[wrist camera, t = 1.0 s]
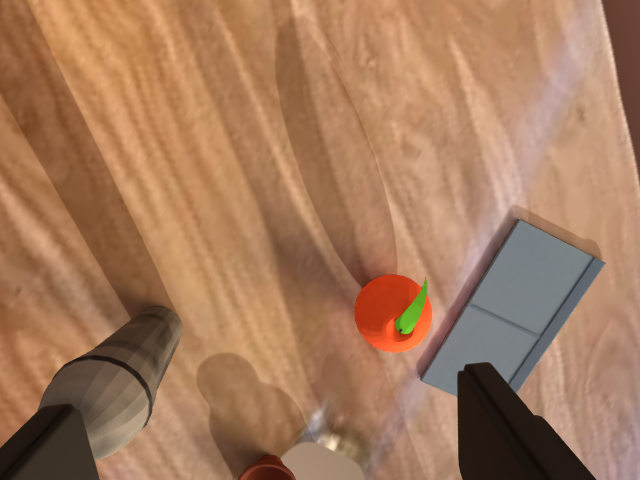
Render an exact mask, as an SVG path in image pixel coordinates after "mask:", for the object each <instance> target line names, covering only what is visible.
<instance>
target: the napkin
mask: <svg viewBox="0 0 640 480" xmlns="http://www.w3.org/2000/svg"><path fill="white" fill-rule="evenodd" d="M605 264H606V263H605V262H603V261H601V260H599V259H597V258H595V257H593V256H591V255H589V254H587V253H585V252H583V251H581V250H579V249H577V248H575V247H573V246H571V245H569V244H567V243H565V242H563V241H561V240H560V239H558V238H556V237H554V236H552V235H550V234H548V233H546V232H544V231H542V230H540V229H538V228H536V227H534V226H532V225H530V224H528V223H526V222H524V221H522V220H520V219H518V220H517V222H516V223H515V225H514V226H513V228H512V230H511V231H510V233H509V235H508V236H507V238H506V240H505V241H504V243H503V244H502V246H501V248H500V249H499V251H498V253H497V254H496V256H495V257H494V259H493V261H492V262H491V264H490V266H489V267H488V269H487V271H486V272H485V274H484V275H483V277H482V279H481V280H480V282H479V284H478V285H477V287H476V288H475V290H474V292H473V293H472V295H471V297H470V298H469V300H468V301H467V303H466V305H465V306H464V308H463V310H462V311H461V313H460V315H459V316H458V318H457V319H456V321H455V323H454V324H453V326H452V328H451V329H450V331H449V332H448V334H447V336H446V337H445V339H444V341H443V342H442V344H441V346H440V347H439V349H438V350H437V352H436V354H435V355H434V357H433V359H432V360H431V362H430V363H429V365H428V367H427V368H426V370H425V372H424V373H423V375H422V376H421V378H420V380H421V381H422V382H425V383H427V384H429V385H432V386H434V387H436V388H439V389H441V390H443V391H446V392H448V393H450V394H453V395H455V396H457V373H458V371H463V370H464V366H465V365H466V364H472V363H482V362H490V363H491V364H492V365H493V366H494V367H495V369H496V370H497V371H498V372H499V374H500V375H501V376H502V377H503V378H504V380H505V381H506V382H507V383H508V384H509V386H510V387H511V388H512V389H513V390H514V392H515V393H516V394H517V392H518V391H519V390H520V388H521V387H522V385H523V384H524V382H525V381H526V379H527V378H528V376H529V375H530V373H531V372H532V371H533V369H534V368H535V366H536V365H537V363H538V362H539V360H540V359H541V357H542V356H543V354H544V353H545V352H546V350H547V349H548V347H549V346H550V344H551V343H552V341H553V340H554V338H555V337H556V335H557V334H558V333H559V331H560V330H561V328H562V327H563V325H564V324H565V322H566V321H567V319H568V318H569V317H570V315H571V314H572V312H573V311H574V309H575V308H576V306H577V305H578V303H579V302H580V300H581V299H582V298H583V296H584V295H585V293H586V292H587V290H588V289H589V287H590V286H591V284H592V283H593V281H594V280H595V279H596V277H597V276H598V274H599V273H600V271H601V270H602V268H603V267H604V265H605Z"/></svg>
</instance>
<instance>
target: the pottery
mask: <svg viewBox="0 0 640 480" xmlns="http://www.w3.org/2000/svg"><path fill="white" fill-rule="evenodd" d="M238 480H296V479H295V477H294V475H293V473H292V472H291V471H290V470H289V469H288V468H287V467H286V466H284V465H283V463H282V461H281V459H280V458H278V457H276V456H274V455H266V456H263V457H261V458H260V459H259V460H258V462H256V463H254V464H252V465H251V466H249V467H248V468H246V469H245V470H244V471H243V473H242V474H241V475H240V477H239V478H238Z"/></svg>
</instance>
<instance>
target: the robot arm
mask: <svg viewBox="0 0 640 480" xmlns="http://www.w3.org/2000/svg"><path fill="white" fill-rule="evenodd" d="M457 398H458V459H459V468H460V473H461V476H462V479H463V480H596V479H595V477H594V476H593V475H592V474H591V473H590V472H589V470H588V469H587V468H586V467H585V466H584V465H583V463H582V462H581V461H580V460H579V459H578V458H577V456H576V455H575V454H574V453H573V452H572V451H571V449H570V448H569V447H568V446H567V445H566V443H565V442H564V441H563V440H562V439H561V438H560V436H559V435H558V434H557V433H556V432H555V431H554V429H553V428H552V427H551V426H550V425H549V424H548V422H547V421H546V420H545V419H543V418H542V417H541V416H538V415H533V414H532V412H531V411H530V410H529V409H528V407H527V406H526V405H525V404H524V403H523V401H522V400H521V399H520V398H519V397H518V395H517V394H516V393H515V392H514V390H513V389H512V388H511V387H510V386H509V384H508V383H507V382H506V381H505V380H504V378H503V377H502V376H501V375H500V374H499V372H498V371H497V370H496V369H495V367H494V366H493V365H492V364H491V363H490V362H482V363H472V364H466V365H465V366H464V370H463V371H458V373H457ZM0 480H100V479H99V476H98V472H97V468H96V465H95V461H94V457H93V454H92V450H91V446H90V443H89V439H88V435H87V432H86V428H85V425H84V421H83V417H82V414H81V412H80V411H79V410H78V409H75V407H74V406H73V405H72V404H59V405H49V406H44V407H42V408H41V409H40V410H39V411H38V412H37V413H36V414H35V415H33V416H32V417H31V418H30V419H29V420H28V421H27V422H26V423H25V424H24V425H23V426H22V427H21V428H20V429H19V430H18V431H17V432H16V433H15V434H14V435H13V436H12V437H11V438H10V439H9V440H8V441H7V442H6V443H5V444H4V445H3V446H2V447H1V448H0Z"/></svg>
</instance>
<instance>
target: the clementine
mask: <svg viewBox="0 0 640 480" xmlns="http://www.w3.org/2000/svg"><path fill="white" fill-rule="evenodd" d="M355 321H356V324H357V327H358V329H359V331H360V333H361V334H362V336H363V337H364V338H365V340H366V341H367V342H369V343H370V344H371V345H372V346H374V347H376V348H379V349H381V350H383V351H387V352H403V351H406V350H409V349H411V348H413V347H415V346H416V345H418V344H419V343H420V342H421V341H422V340H423V339H424V338H425V336H426V335H427V333H428V331H429V328H430V324H431V321H432V308H431V304H430V301H429V298H428V296H427V280H426V277H425V282H424V285H423V287H422V288H421V287H420V286H419V285H418V284H417V283H415V282H414V281H413V280H411V279H409V278H407V277H404V276H400V275H384V276H381V277H378V278H375V279H374V280H372V281H371V282H369V283H368V284H367V285H366V286H365V287H364V288H363V289H362V290H361V292H360V293H359V295H358V297H357V300H356V304H355Z"/></svg>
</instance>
